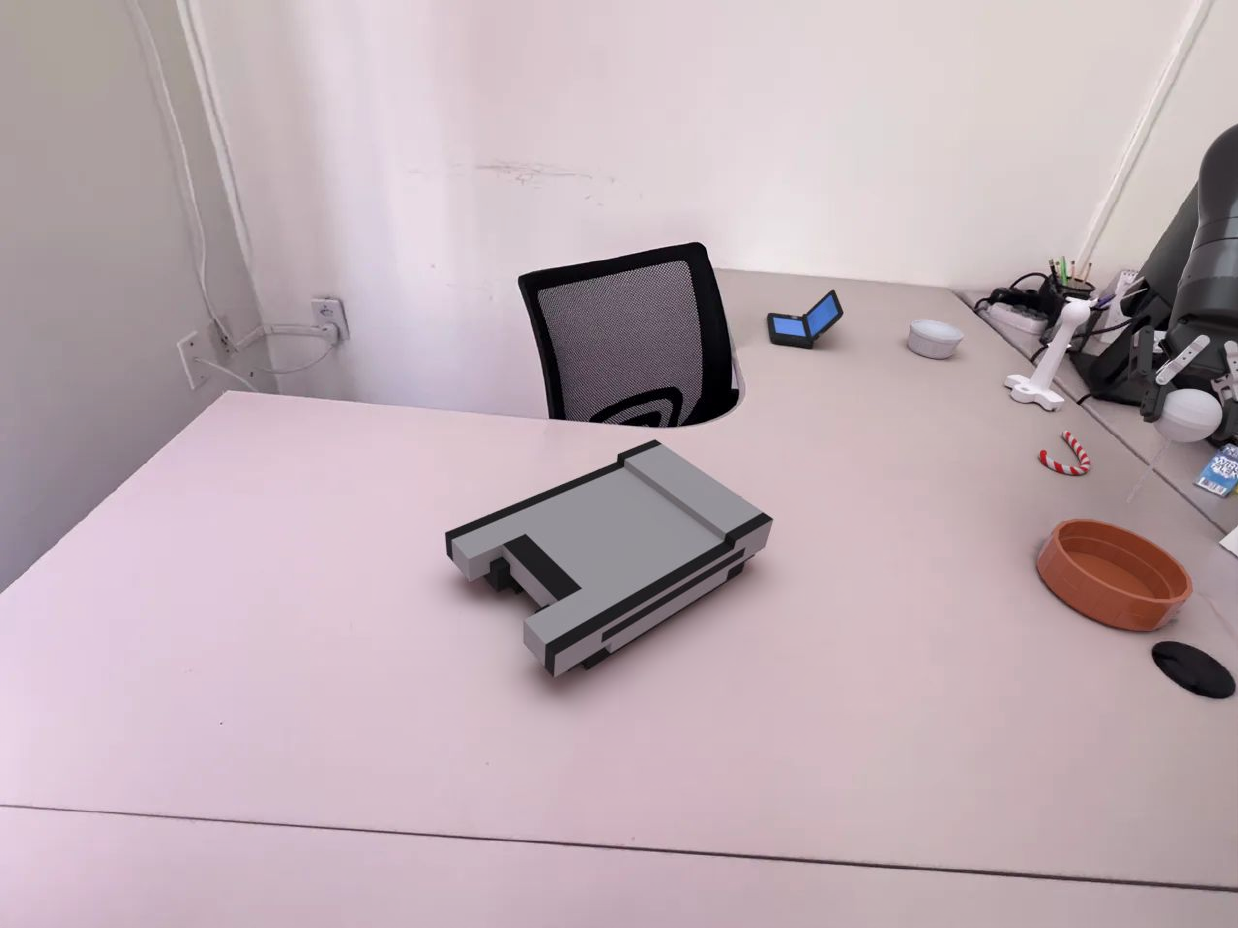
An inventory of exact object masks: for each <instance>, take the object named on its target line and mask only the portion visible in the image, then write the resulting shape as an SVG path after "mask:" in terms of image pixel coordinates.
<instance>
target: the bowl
mask: <svg viewBox="0 0 1238 928" xmlns="http://www.w3.org/2000/svg"><path fill="white" fill-rule="evenodd" d="M1035 565H1036V567H1037V570H1038V572H1039V573H1038V574H1039V575H1040V578H1042V580H1043V581H1044V583H1045V584H1046V586H1047V587H1048V588H1049V589H1050V590H1051V591H1052V593H1054V595H1055V596H1056V597H1058V598H1059V599H1060V600H1061V601H1062V602H1064V603H1065V604H1067V605H1068V606H1069V607H1070V608H1072V609H1074V610H1075V611H1077V612H1078V613H1080V614H1082V615H1084V616H1086V617H1088V618H1090V619H1092V620H1094V621H1097V622H1098V623H1101V624H1104V625H1107V626H1111V627H1114V628H1117V629H1121V630H1122V629H1123V630H1128V631H1136V632H1137V631H1140V632H1151V631H1154V630H1157V629H1161V628H1163V627H1165V626H1166V625H1167V624H1168V623H1169V622H1170V620H1171V619H1172V618H1173V617H1174V615H1175V614H1176V613H1177V612H1178V610H1180V608H1181V607H1182V606H1183V605H1184V604H1185V603H1186V601H1187V600H1188V599H1189V597H1191V594H1192V593H1193V592H1194V586H1193V581H1192V580H1193V579H1192V578H1191V576H1190V574H1189V573H1188V572H1187V569H1186V568H1185V567H1184V566H1183V565H1182V564H1181V563H1180V562H1179V561H1178V560H1177V559H1176V558H1175V557H1174V556H1173V555H1172V554H1170V553H1169V552H1168V551H1167V550H1166V549H1164V548H1162V547H1161V546H1159V545H1157V544H1156V543H1155V542H1153V541H1152V540H1150V539H1148V538H1146V537H1144V536H1142V535H1140V534H1138V533H1136V532H1134V531H1132V530H1131V529H1127V528H1124V527H1121V526H1120V525H1116V524H1113V523H1111V522H1105V521H1101V520H1098V519H1097V520H1096V519H1091V518H1071V519H1066V520H1062V521H1060V522H1059V523H1058V524H1057V525H1056V526H1055V527H1054V528H1053V530H1052V531H1051V533H1050V534H1049V536H1048V537H1047V539H1046V541H1045V543H1044V544H1043V546H1042V548H1041V549H1040V551H1039V552H1038V554H1037V558H1036V564H1035Z"/></svg>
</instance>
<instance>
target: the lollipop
mask: <svg viewBox="0 0 1238 928" xmlns="http://www.w3.org/2000/svg"><path fill="white" fill-rule="evenodd" d="M1221 408H1222V405H1221V404H1220V403H1219V401H1218V400H1217V398H1215V397H1214V396H1213V395H1212V394H1211V393H1208V392H1206V391H1203V390H1200V389H1195V388H1182V389H1177V390H1174V391H1171V392H1169V393H1167V395H1166V399H1165V403H1164V406H1163V410H1162V414H1161V417H1160V418H1159V419H1158V420H1157V421H1155V422H1153V423H1152V425H1153V427H1154V429H1155V431H1156V432H1157V433H1158V434H1160V435H1161V436H1162V437H1164V438H1165V439H1166V440H1165V442H1164V443H1163V444H1162V446H1161V448H1160V449H1159V451H1158V452H1157V454H1155V456H1154V458H1153V460H1152V461H1151V462H1150V464H1149V465H1148V466H1147V468H1146V470H1145V471H1144V473H1143V474H1142V476H1141V477H1140V479H1139V480H1138V482H1137V483H1136V485H1135V486H1134V488H1133V489H1132V490H1131V492H1130V493H1129V495H1128V497H1127V498H1126V499H1125V502H1126V503H1131V502H1132V501H1133V499H1134V497H1135V496H1136V495H1137V493H1138V492H1139V490H1140V489H1141V487H1142V486H1143V484H1144V483H1145V481H1146V480H1147V479H1148V477H1149V476H1150V474H1151V473H1152V471H1153V470H1154V468H1155V466H1156V465H1157V464H1158V462H1159V461H1160V459H1161V458H1162V457H1163V455H1164V453H1165V452H1166V450H1167V449H1168V448H1169V446H1170V445H1171V443H1172V442H1177V443H1194V442H1198V441H1201V440H1204V439H1207V438H1208V437H1209V436H1212V434H1213V432H1214V431H1215V430H1216V429H1217V428H1218V427H1219V425H1220V423H1221V420H1222V409H1221Z"/></svg>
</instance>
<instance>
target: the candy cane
mask: <svg viewBox="0 0 1238 928" xmlns="http://www.w3.org/2000/svg"><path fill="white" fill-rule="evenodd" d="M1061 437H1062V438H1063V439H1064V441H1065V442H1067V444H1068V445H1069V446H1070V448H1071V449H1072V450H1073V452H1074V453H1075V455H1076V456H1077V458H1078V460H1079V462H1080V465H1079V466H1070V465H1065V464H1062V463H1059V462H1057V461H1055V460H1053V459H1052V458H1050V457H1049V456H1048V452H1047V450H1046V449H1041V450H1039V452H1038V458H1039V460H1040V461H1041V463H1043V465H1045V466H1047V467H1048V468H1050V469H1052V470H1053V471H1055V472H1059V473H1062V474H1064V475H1065V474H1066V475H1071V476H1072V475H1073V476H1075V475H1076V476H1078V475H1082V474H1085V473H1087V472H1088V471H1089V469H1090V467H1091V460H1090V457H1089V456H1088V454H1087V453H1086V451H1085V450H1084V448H1083V447H1082V445H1081V444H1080V442H1079V441H1078V440H1077V439H1076V438H1075V437H1074V435H1073V434H1071V432H1069V431H1068V430H1063V431H1062V432H1061Z"/></svg>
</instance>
